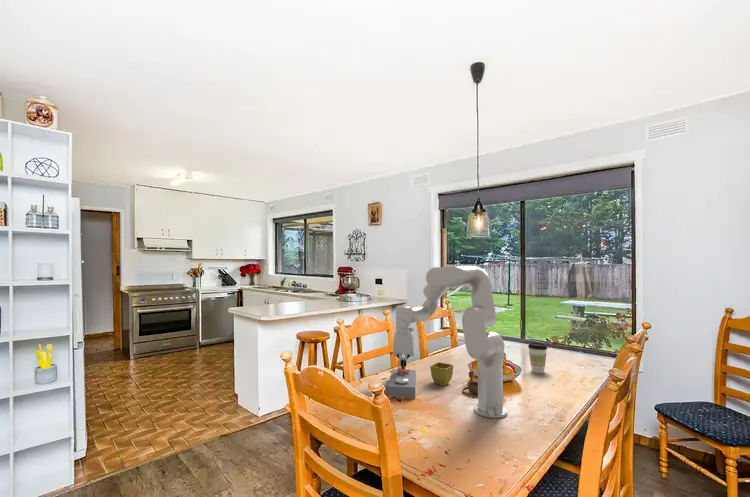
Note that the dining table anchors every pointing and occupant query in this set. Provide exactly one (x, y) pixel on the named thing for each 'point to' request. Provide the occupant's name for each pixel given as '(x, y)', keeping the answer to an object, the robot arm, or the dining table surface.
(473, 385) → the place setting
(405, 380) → the metal plunger
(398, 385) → the block
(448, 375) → the flower pot
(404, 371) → the terracotta plunger
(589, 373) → the dining table surface
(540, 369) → the coffee cup
